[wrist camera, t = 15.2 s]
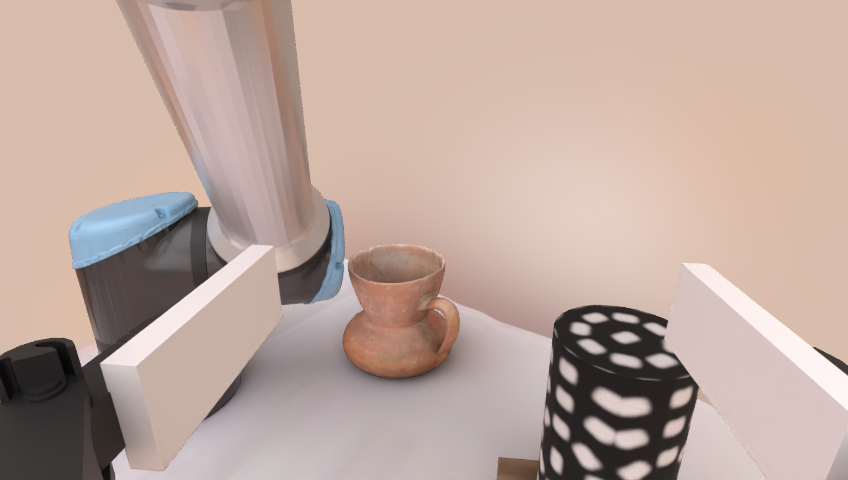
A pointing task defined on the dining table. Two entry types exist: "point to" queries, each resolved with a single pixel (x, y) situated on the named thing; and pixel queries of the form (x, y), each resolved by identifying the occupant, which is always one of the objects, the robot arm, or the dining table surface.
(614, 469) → the white-spotted black cylinder
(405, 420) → the dining table surface
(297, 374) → the dining table surface
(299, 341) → the dining table surface
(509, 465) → the tray
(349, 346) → the ceramic jug
